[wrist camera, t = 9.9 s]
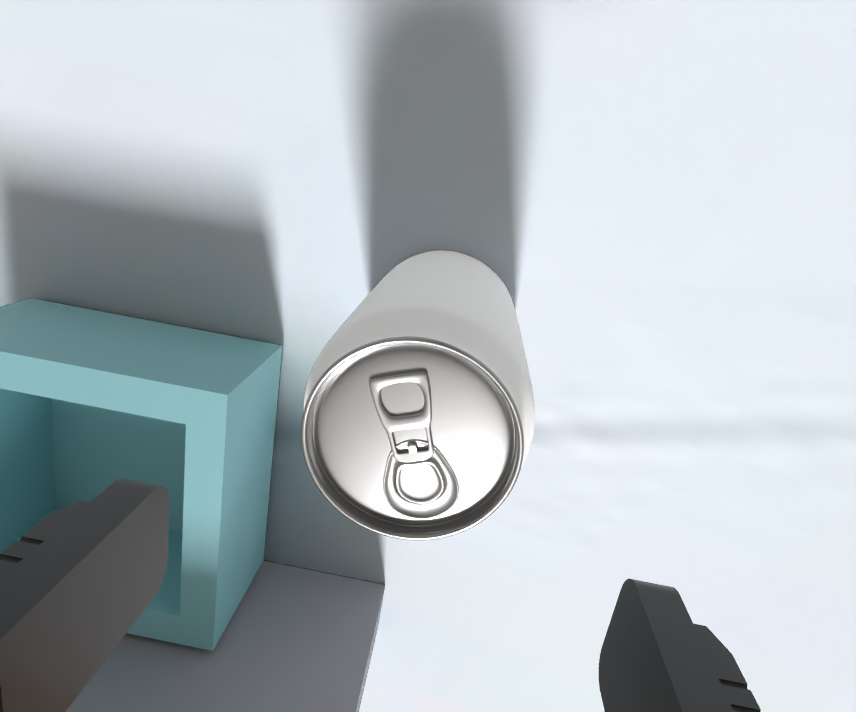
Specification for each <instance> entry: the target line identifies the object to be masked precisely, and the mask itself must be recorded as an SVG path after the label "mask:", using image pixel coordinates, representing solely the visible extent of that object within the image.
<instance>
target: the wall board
mask: <svg viewBox="0 0 856 712" xmlns="http://www.w3.org/2000/svg"><path fill="white" fill-rule="evenodd" d="M384 588H385V585H383V584H378V583H373V582H368V581H363V580H358V579H353V578H348V577H343V576H338V575H333V574H328V573H323V572H318V571H313V570H308V569H303V568H298V567H293V566H288V565H283V564H279V563H274V562H269V561H264V560H263V562H262V564H261V565H260V567H259V569H258V571H257V573H256V574H255V576H254V578H253V580H252V582H251V583H250V585H249V587H248V589H247V591H246V592H245V594H244V596H243V598H242V600H241V602H240V603H239V605H238V607H237V609H236V611H235V612H234V614H233V616H232V618H231V620H230V621H229V623H228V625H227V627H226V629H225V630H224V632H223V634H222V636H221V638H220V639H219V641H218V643H217V645H216V647H215V648H214V650H213V651H210V650H206V649H201V648H196V647H191V646H186V645H181V644H177V643H172V642H167V641H162V640H157V639H153V638H148V637H143V636H138V635H133V634H128V633H126V634H125V635H124V637H123V638H122V639H121V641H120V642H119V643H118V645H117V646H116V647H115V648H114V650H113V651H112V652H111V654H110V655H109V656H108V657H107V659H106V660H105V661H104V663H103V664H102V665H101V666H100V668H99V669H98V670H97V672H96V673H95V674H94V676H93V677H92V678H91V679H90V681H89V682H88V683H87V685H86V686H85V687H84V688H83V690H82V691H81V692H80V694H79V695H78V696H77V698H76V699H75V700H74V701H73V703H72V704H71V705H70V707H69V708H68V709H67V710H66V712H359V708H360V703H361V699H362V695H363V690H364V686H365V681H366V677H367V673H368V668H369V664H370V659H371V655H372V651H373V646H374V642H375V637H376V633H377V628H378V623H379V617H380V611H381V606H382V600H383V594H384Z"/></svg>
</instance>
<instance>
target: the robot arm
mask: <svg viewBox="0 0 856 712" xmlns="http://www.w3.org/2000/svg"><path fill="white" fill-rule="evenodd" d="M168 534H169V492H168V489H167V488H166V487H165V486H160V485H155V484H150V483H145V482H140V481H135V480H130V479H125V478H121V479H118V480H116V481H115V482H113V483H112V484H111V485H110V486H109V487H108V488H106V489H105V490H104V491H103V492H102V493H100V494H99V495H98V496H97V497H96V498H94V499H93V500H92V501H91V502H90V503H89V502H84V501H79V502H77V503H75V504H73V505H70V506H68V507H66V508H64V509H61V510H59V511H57V512H55V513H52V514H50V515H48V516H46V517H45V518H44V519H42V520H41V521H40V522H39V523H37V524H36V525H35V526H34V527H32V528H31V529H30V530H29V531H27V532H26V533H25V534H23V535H22V536H21V539H20V541H15V542H13V543H12V544H11V545H10V546H8V547H7V548H6V549H4V550H3V551H2V552H1V553H0V712H66V710H67V709H68V708H69V707H70V705H71V704H72V703H73V701H74V700H75V699H76V698H77V696H78V695H79V694H80V692H81V691H82V690H83V688H84V687H85V686H86V685H87V683H88V682H89V681H90V679H91V678H92V677H93V676H94V674H95V673H96V672H97V670H98V669H99V668H100V666H101V665H102V664H103V663H104V661H105V660H106V659H107V657H108V656H109V655H110V654H111V652H112V651H113V650H114V648H115V647H116V646H117V645H118V643H119V642H120V641H121V639H122V638H123V637H124V635H125V634H126V633H127V632H128V630H129V629H130V628H131V626H132V625H133V624H134V623H135V621H136V620H137V619H138V617H139V616H140V615H141V613H142V612H143V611H144V610H145V608H146V607H147V606H148V604H149V603H150V602H151V601H152V599H153V598H154V596H155V595H156V593H157V592H158V590H159V588H160V586H161V583H162V581H163V578H164V575H165V572H166V568H167V562H168ZM599 685H600V692H601V696H602V701H603V705H604V709H605V712H760V711H761V710H760V708H759V706H758V704H757V702H756V700H755V698H754V696H753V694H752V692H751V690H748V689H747V683H746V681H745V679H744V677H743V675H742V673H741V671H740V669H739V667H738V665H737V663H736V661H735V659H734V657H733V655H732V654H731V653H730V652H729V650H728V649H727V648H726V647H725V646H724V645H723V644H722V643H721V642H720V641H719V640H718V639H717V638H716V636H715V635H714V634H713V633H712V632H711V631H710V630H709V629H708V628H707V627H706V626H702V625H697V624H693V623H692V620H691V618H690V616H689V614H688V612H687V610H686V607H685V605H684V603H683V601H682V599H681V597H680V595H679V593H678V591H677V590H676V589H675V588H673V587H669V586H664V585H658V584H653V583H648V582H643V581H638V580H633V579H627V580H626V581H625V582H624V584H623V586H622V588H621V591H620V594H619V597H618V600H617V603H616V606H615V609H614V612H613V615H612V618H611V621H610V624H609V627H608V630H607V633H606V637H605V640H604V643H603V646H602V649H601V654H600V660H599Z"/></svg>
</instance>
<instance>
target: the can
mask: <svg viewBox="0 0 856 712" xmlns="http://www.w3.org/2000/svg"><path fill="white" fill-rule="evenodd" d="M534 423H535V405H534V397H533V390H532V385H531V379H530V374H529V370H528V365H527V360H526V356H525V351H524V347H523V342H522V337H521V333H520V329H519V324H518V320H517V316H516V312H515V308H514V305H513V302H512V299H511V296H510V294H509V292H508V290H507V288H506V286H505V285H504V283H503V282H502V281H501V279H500V278H499V277H498V276H497V275H496V273H495V272H494V271H492V270H491V269H490V268H489V267H488V266H486V265H485V264H484V263H482V262H480V261H479V260H477V259H475V258H473V257H471V256H468V255H465V254H462V253H458V252H453V251H430V252H425V253H421V254H418V255H415V256H412V257H410V258H408V259H406V260H404V261H403V262H401V263H400V264H398V265H397V266H395V267H394V268H393V269H392V270H391V271H390V272H389V273H388V274H387V275H386V276H385V277H384V278H383V279H382V280H381V281H380V282H379V283H378V284H377V285H376V287H375V288H374V289H373V290H372V291H371V292H370V293H369V294H368V296H367V297H366V298H365V299H364V300H363V301H362V302H361V304H360V305H359V306H358V307H357V308H356V309H355V310H354V312H353V313H352V314H351V315H350V316H349V317H348V318H347V320H346V321H345V322H344V323H343V324H342V325H341V327H340V328H339V329H338V330H337V331H336V333H335V334H334V335H333V336H332V337H331V339H330V340H329V341H328V343H327V344H326V345H325V347H324V348H323V350H322V351H321V353H320V354H319V356H318V358H317V360H316V362H315V364H314V366H313V368H312V370H311V372H310V375H309V378H308V381H307V385H306V390H305V396H304V412H303V417H302V424H301V442H302V449H303V454H304V458H305V462H306V465H307V467H308V470H309V472H310V474H311V477H312V478H313V480H314V482H315V484H316V485H317V487H318V489H319V490H320V491H321V493H322V494H323V495H324V497H325V498H326V499H327V500H328V501H329V502H330V503H331V504H332V505H333V506H334V507H335V508H336V509H337V510H338V511H339V512H340V513H342V514H343V515H344V516H346V517H347V518H348V519H350V520H351V521H353V522H355V523H356V524H358V525H360V526H362V527H364V528H366V529H368V530H370V531H373V532H376V533H378V534H381V535H385V536H389V537H393V538H398V539H406V540H431V539H439V538H444V537H448V536H452V535H455V534H458V533H461V532H463V531H465V530H468V529H470V528H472V527H474V526H475V525H477V524H479V523H480V522H482V521H483V520H485V519H486V518H487V517H489V516H490V515H491V514H492V513H493V512H494V511H495V510H496V509H498V507H499V506H500V505H501V504H502V503H503V502H504V501H505V499H506V498H507V496H508V495H509V494H510V492H511V490H512V489H513V487H514V485H515V483H516V481H517V478H518V476H519V473H520V470H521V467H522V465H523V463H524V461H525V459H526V457H527V454H528V452H529V449H530V446H531V443H532V438H533V433H534Z"/></svg>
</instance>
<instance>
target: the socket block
mask: <svg viewBox="0 0 856 712" xmlns="http://www.w3.org/2000/svg"><path fill="white" fill-rule="evenodd" d="M281 356H282V345H277V344H272V343H266V342H261V341H256V340H250V339H245V338H240V337H235V336H229V335H224V334H219V333H213V332H208V331H203V330H197V329H192V328H187V327H182V326H176V325H171V324H166V323H160V322H155V321H150V320H144V319H139V318H134V317H129V316H123V315H118V314H113V313H107V312H102V311H97V310H91V309H86V308H81V307H76V306H70V305H65V304H60V303H54V302H49V301H44V300H38V299H33V298H29V299H25V300H22V301H19V302H15V303H12V304H8V305H5V306H2V307H0V553H1V552H2V551H3V550H4V549H6V548H7V547H8V546H10V545H11V544H12V543H13V542H15V541H20V539H21V536H22V535H23V534H25V533H26V532H27V531H29V530H30V529H31V528H32V527H34V526H35V525H36V524H37V523H39V522H40V521H41V520H42V519H44V518H45V517H46V516H48V515H50V514H52V513H55V512H57V511H59V510H61V509H64V508H66V507H68V506H70V505H73V504H75V503H77V502H79V501H84V502H89V503H90V502H91V501H92V500H93V499H94V498H96V497H97V496H98V495H99V494H100V493H102V492H103V491H104V490H105V489H106V488H108V487H109V486H110V485H111V484H112V483H113V482H115V481H116V480H118V479H121V478H125V479H130V480H135V481H140V482H145V483H150V484H155V485H160V486H165V487H166V488H167V489H168V492H169V534H168V562H167V568H166V572H165V575H164V578H163V581H162V583H161V586H160V588H159V590H158V592H157V593H156V595H155V596H154V598H153V599H152V601H151V602H150V603H149V604H148V606H147V607H146V608H145V610H144V611H143V612H142V613H141V615H140V616H139V617H138V619H137V620H136V621H135V623H134V624H133V625H132V626H131V628H130V629H129V630H128V632H127V633H128V634H133V635H138V636H143V637H148V638H153V639H157V640H162V641H167V642H172V643H177V644H181V645H186V646H191V647H196V648H201V649H206V650H210V651H213V650H214V648H215V647H216V645H217V643H218V641H219V639H220V638H221V636H222V634H223V632H224V630H225V629H226V627H227V625H228V623H229V621H230V620H231V618H232V616H233V614H234V612H235V611H236V609H237V607H238V605H239V603H240V602H241V600H242V598H243V596H244V594H245V592H246V591H247V589H248V587H249V585H250V583H251V582H252V580H253V578H254V576H255V574H256V573H257V571H258V569H259V567H260V565H261V564H262V562H263V560H264V549H265V538H266V526H267V515H268V503H269V492H270V481H271V469H272V458H273V447H274V435H275V424H276V413H277V401H278V390H279V379H280V367H281Z"/></svg>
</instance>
